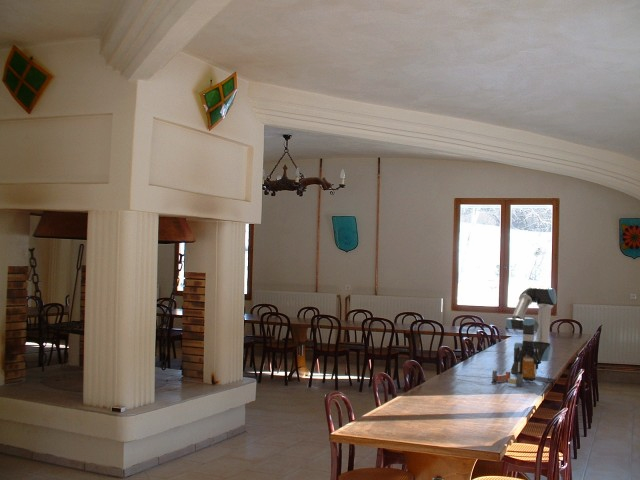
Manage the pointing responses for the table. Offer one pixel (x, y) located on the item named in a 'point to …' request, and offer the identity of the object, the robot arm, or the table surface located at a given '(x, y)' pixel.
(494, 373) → the post
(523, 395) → the table surface
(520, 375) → the grey hammer
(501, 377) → the pink l-shaped bracket
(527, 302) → the robot arm
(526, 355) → the canister
